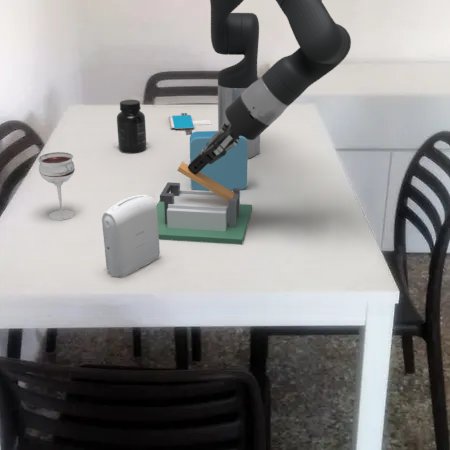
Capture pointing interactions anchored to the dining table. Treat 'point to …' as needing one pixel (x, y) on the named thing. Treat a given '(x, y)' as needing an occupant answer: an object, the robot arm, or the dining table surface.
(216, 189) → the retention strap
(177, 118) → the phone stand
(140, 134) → the supplement bottle
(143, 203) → the photo printer
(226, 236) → the processor board
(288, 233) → the dining table surface
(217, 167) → the blue rounded block
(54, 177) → the wineglass
